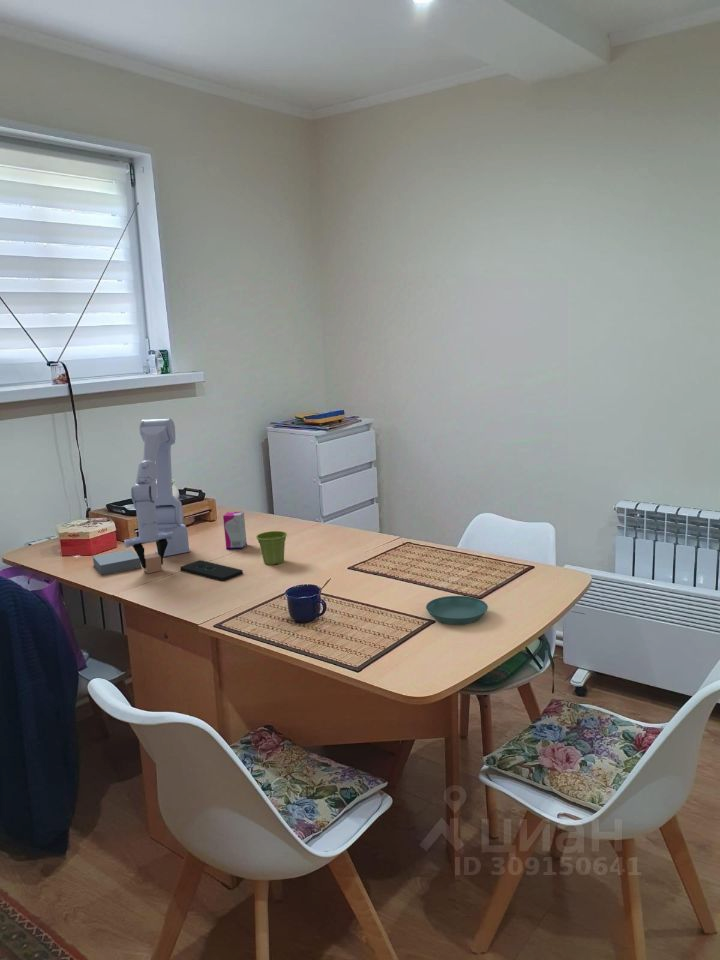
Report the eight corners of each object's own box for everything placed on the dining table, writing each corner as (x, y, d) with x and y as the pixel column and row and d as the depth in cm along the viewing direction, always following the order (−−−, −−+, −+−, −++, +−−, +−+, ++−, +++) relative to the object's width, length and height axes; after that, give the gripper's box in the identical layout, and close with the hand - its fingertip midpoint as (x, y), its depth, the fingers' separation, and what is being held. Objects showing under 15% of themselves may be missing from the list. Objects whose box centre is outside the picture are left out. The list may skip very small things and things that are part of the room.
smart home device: (200, 559, 235) (243, 569, 222) (200, 564, 235) (244, 575, 223) (178, 566, 229) (222, 577, 216) (179, 572, 229) (222, 583, 216)
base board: (132, 558, 245) (131, 549, 244) (141, 567, 234) (140, 557, 234) (93, 565, 239) (92, 556, 238) (101, 574, 229) (100, 565, 228)
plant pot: (252, 565, 230) (250, 538, 228) (267, 556, 238) (265, 530, 237) (279, 567, 226) (277, 540, 225) (294, 558, 235) (292, 531, 233)
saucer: (445, 633, 172) (445, 622, 172) (415, 612, 186) (415, 602, 185) (500, 620, 178) (500, 610, 178) (467, 601, 191) (466, 591, 191)
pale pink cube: (158, 566, 233) (156, 552, 232) (162, 570, 229) (160, 556, 228) (143, 569, 231) (142, 555, 230) (147, 573, 227) (145, 559, 226)
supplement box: (247, 544, 254) (244, 510, 252) (242, 549, 248) (240, 515, 246) (230, 544, 255) (227, 511, 252) (225, 549, 249) (222, 515, 247)
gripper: (126, 529, 220) (131, 573, 223) (175, 520, 227) (179, 564, 230) (120, 524, 226) (125, 567, 229) (168, 516, 233) (172, 558, 236)
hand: (152, 565), depth 230 cm, fingers closed on pale pink cube, 4 cm apart
